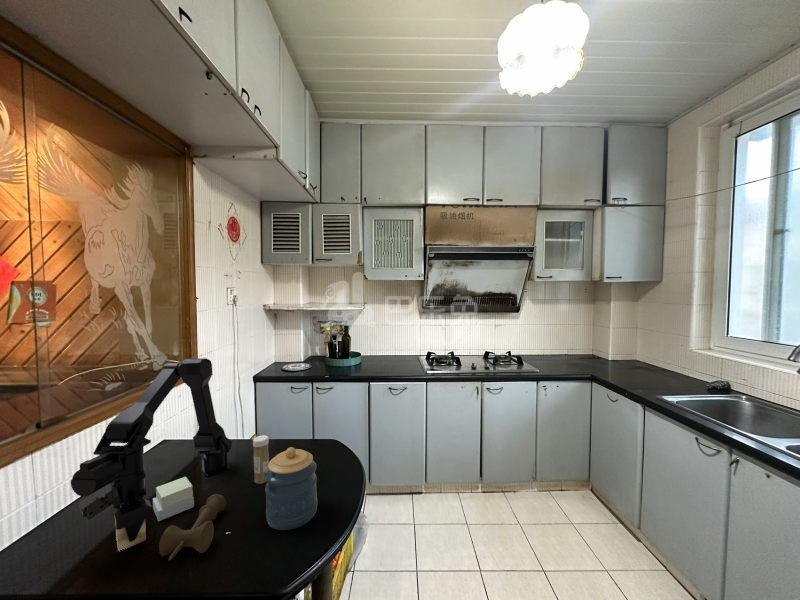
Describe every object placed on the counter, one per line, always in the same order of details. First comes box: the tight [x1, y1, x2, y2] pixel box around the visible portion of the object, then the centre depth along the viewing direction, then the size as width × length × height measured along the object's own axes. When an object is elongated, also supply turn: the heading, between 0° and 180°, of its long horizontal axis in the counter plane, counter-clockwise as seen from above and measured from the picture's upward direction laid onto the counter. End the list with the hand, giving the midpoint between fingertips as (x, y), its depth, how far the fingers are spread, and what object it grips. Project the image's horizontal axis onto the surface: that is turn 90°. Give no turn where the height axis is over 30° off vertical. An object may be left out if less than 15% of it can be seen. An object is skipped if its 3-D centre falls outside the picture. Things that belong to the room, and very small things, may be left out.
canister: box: [264, 446, 318, 531], centre depth 85 cm, size 13×13×18 cm
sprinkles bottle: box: [252, 434, 270, 485], centre depth 101 cm, size 5×5×14 cm
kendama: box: [158, 493, 227, 561], centre depth 77 cm, size 6×10×20 cm
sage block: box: [155, 476, 194, 509], centre depth 89 cm, size 7×7×3 cm
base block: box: [152, 496, 195, 522], centre depth 89 cm, size 8×8×3 cm
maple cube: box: [115, 519, 147, 552], centre depth 77 cm, size 5×5×5 cm
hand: (130, 535), depth 77 cm, fingers closed on maple cube, 5 cm apart
